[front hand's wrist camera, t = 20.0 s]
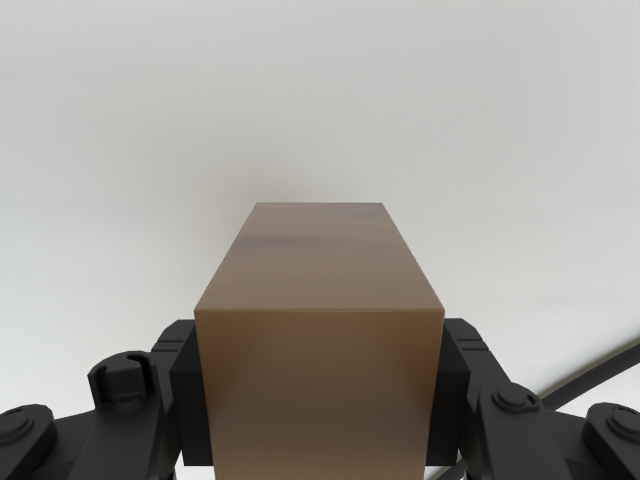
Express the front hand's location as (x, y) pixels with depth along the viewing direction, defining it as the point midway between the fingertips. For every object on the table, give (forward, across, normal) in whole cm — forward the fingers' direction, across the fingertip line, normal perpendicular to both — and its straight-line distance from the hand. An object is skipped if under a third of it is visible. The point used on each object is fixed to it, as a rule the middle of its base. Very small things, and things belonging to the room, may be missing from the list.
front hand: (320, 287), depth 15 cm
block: (+1, 0, 0) cm, 1 cm away
